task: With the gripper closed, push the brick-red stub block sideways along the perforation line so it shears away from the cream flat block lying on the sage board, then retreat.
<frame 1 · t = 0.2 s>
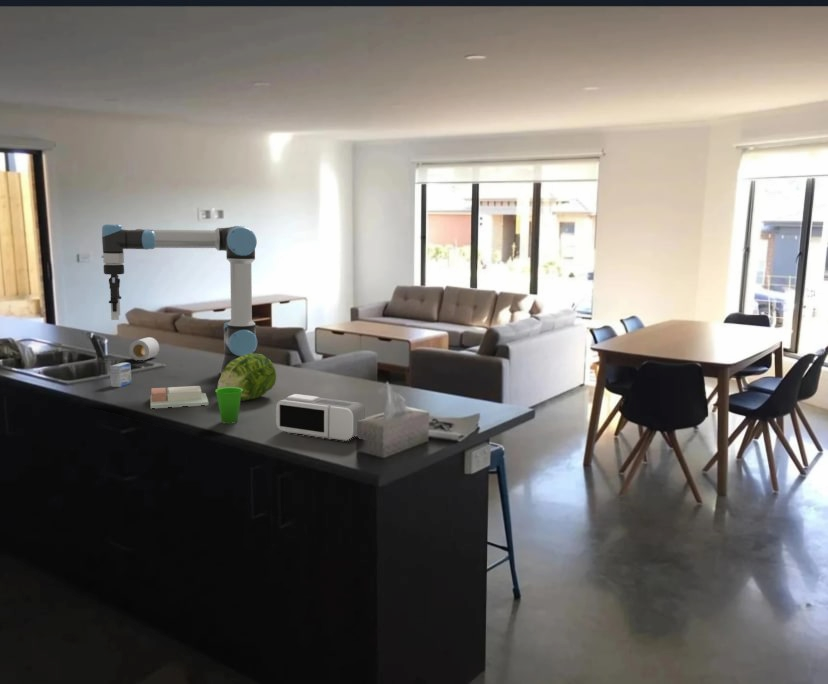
hand: (116, 317, 292), 28 cm above the countertop, fingers open, 13 cm apart
alarm clock: (320, 435, 235), on the countertop
lettuce: (245, 400, 278), on the countertop
medicine box: (121, 385, 297), on the countertop
board: (179, 402, 272), on the countertop
cream flat block: (184, 393, 275), on the board, point 3 cm above the countertop
cup: (229, 422, 248), on the countertop
stub: (158, 394, 272), point 3 cm above the countertop, slide at 0.0 cm
toilet paper: (144, 359, 352), on the countertop
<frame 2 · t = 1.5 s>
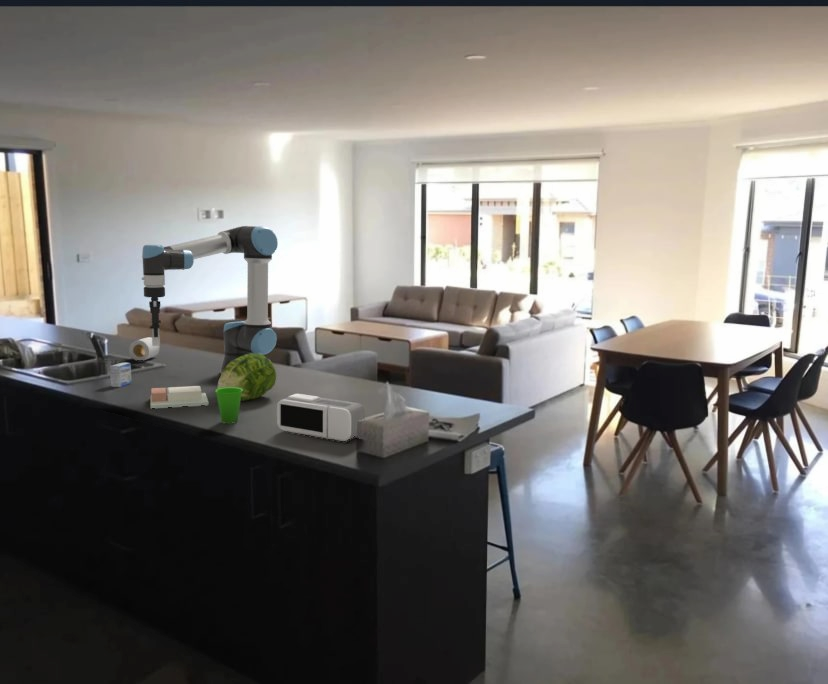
hand: (156, 342, 278), 21 cm above the countertop, fingers open, 12 cm apart
nothing on the countertop moved.
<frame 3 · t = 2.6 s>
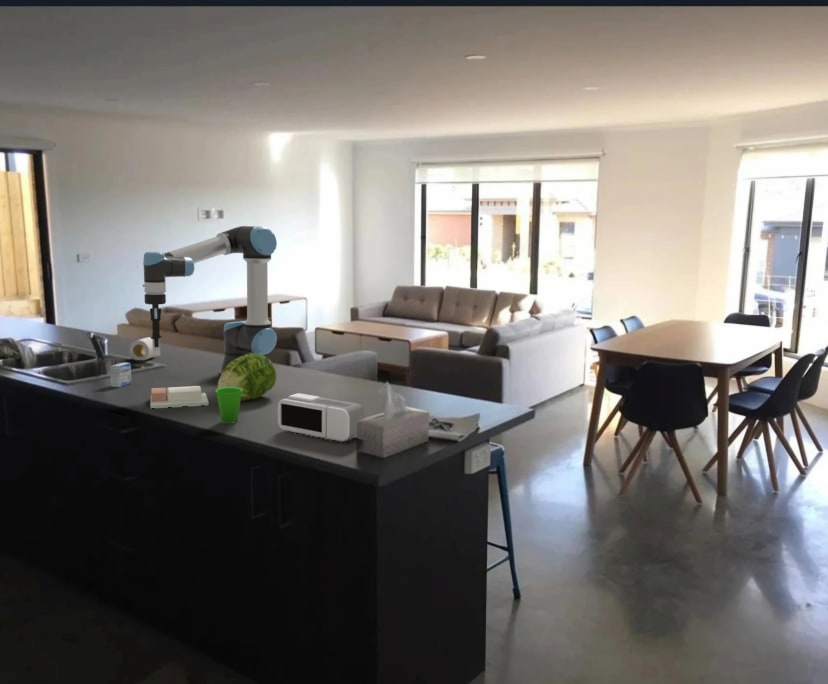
hand: (156, 355, 278), 16 cm above the countertop, fingers closed
nothing on the countertop moved.
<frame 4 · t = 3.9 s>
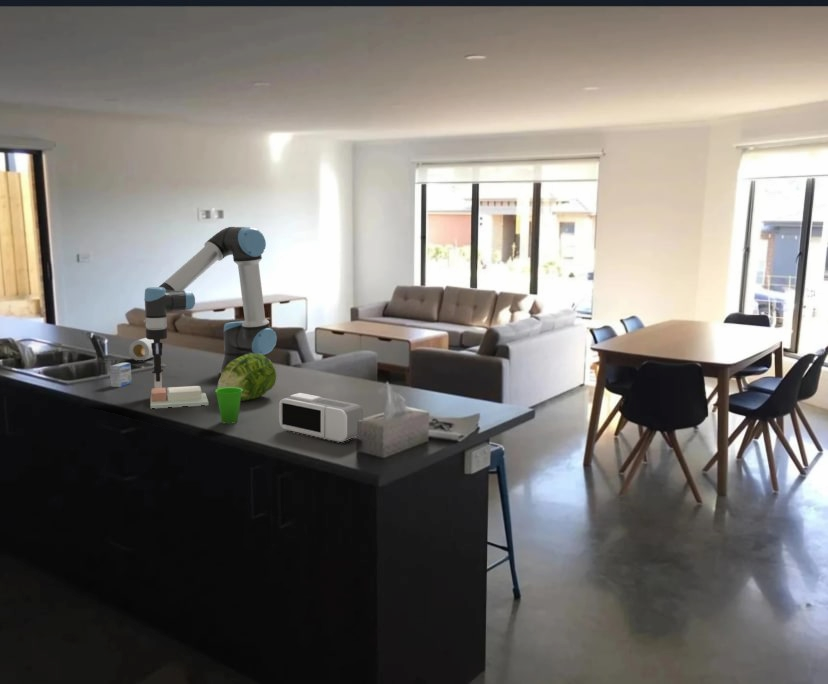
hand: (158, 389, 280), 3 cm above the countertop, fingers closed
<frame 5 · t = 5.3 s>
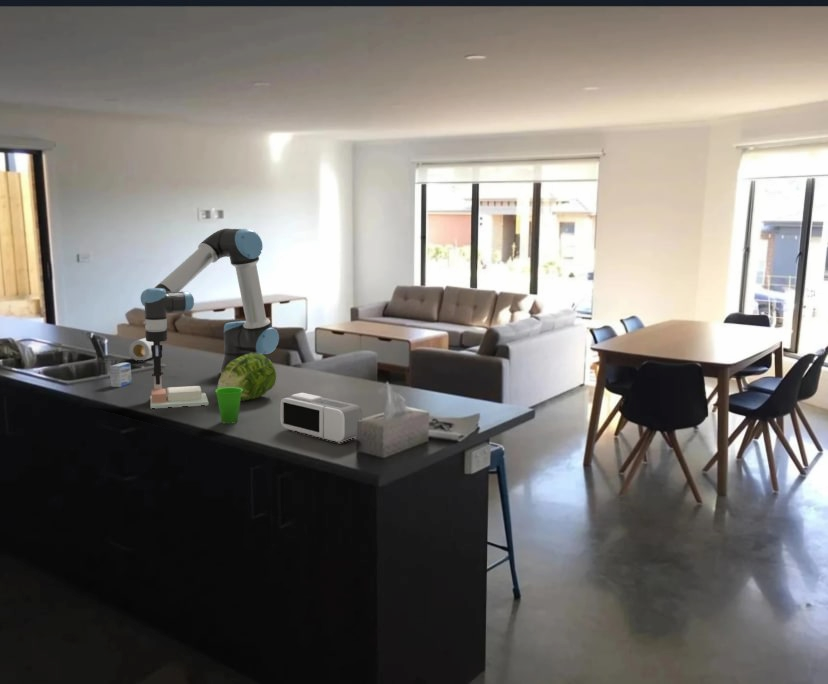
hand: (158, 392, 275), 3 cm above the countertop, fingers closed
stub: (158, 395, 270), point 3 cm above the countertop, slide at 1.7 cm, touching gripper
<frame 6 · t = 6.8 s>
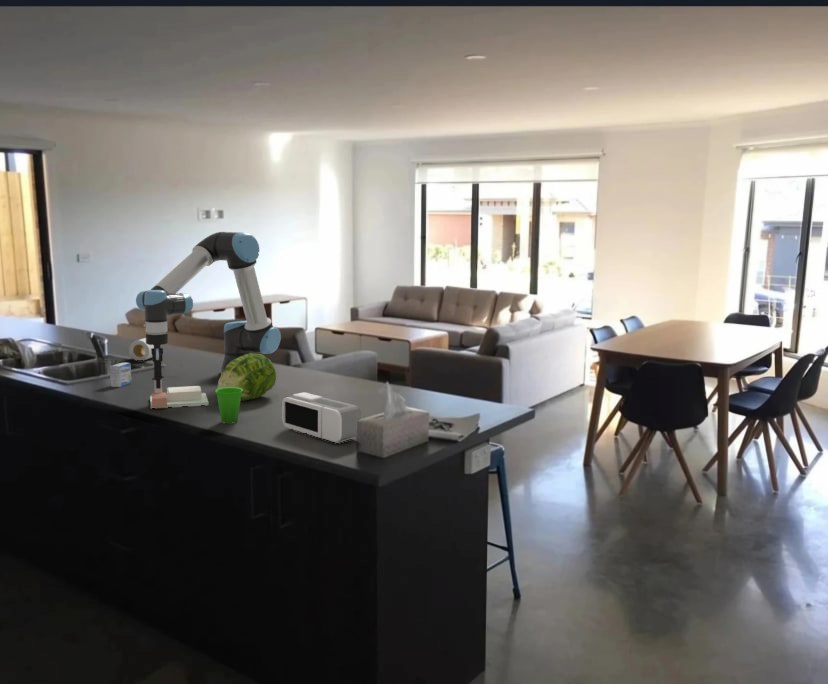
hand: (158, 396, 269), 3 cm above the countertop, fingers closed
stub: (159, 399, 264), point 3 cm above the countertop, slide at 8.1 cm, touching gripper
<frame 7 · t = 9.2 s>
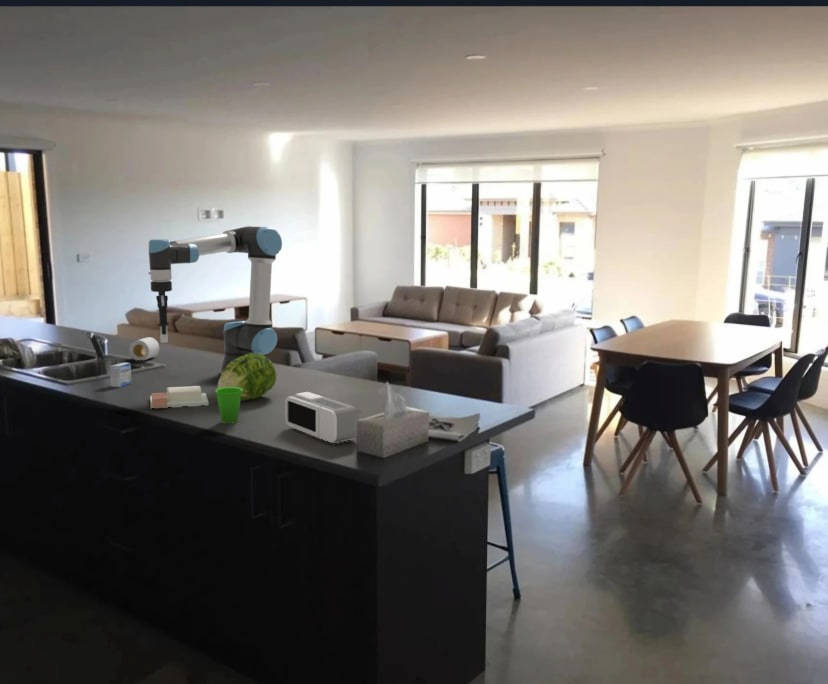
hand: (164, 342, 279), 21 cm above the countertop, fingers closed
stub: (159, 399, 264), point 3 cm above the countertop, slide at 8.2 cm
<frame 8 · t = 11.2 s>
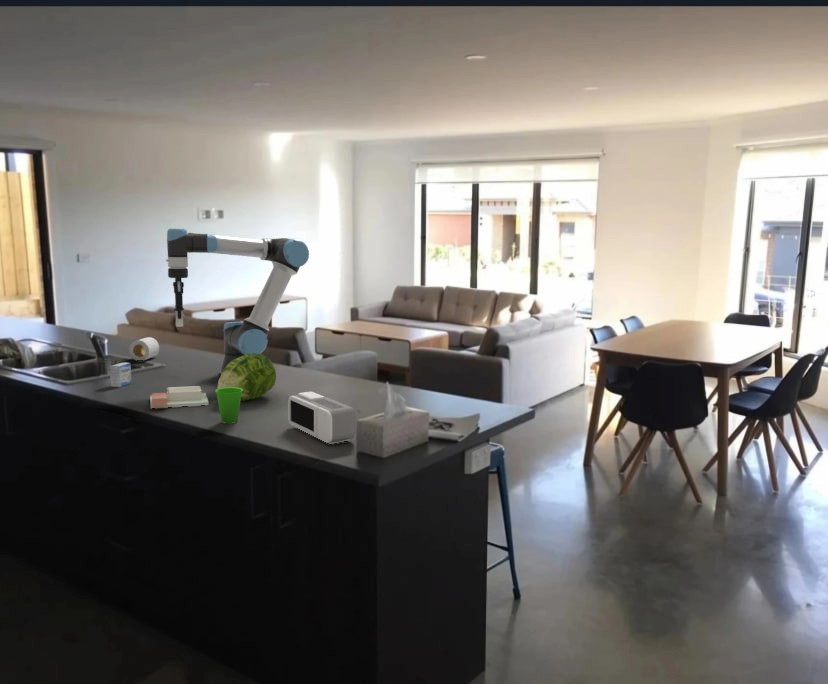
hand: (179, 326, 295), 24 cm above the countertop, fingers closed
at the end: stub slide at 8.2 cm; the gripper is holding nothing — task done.
